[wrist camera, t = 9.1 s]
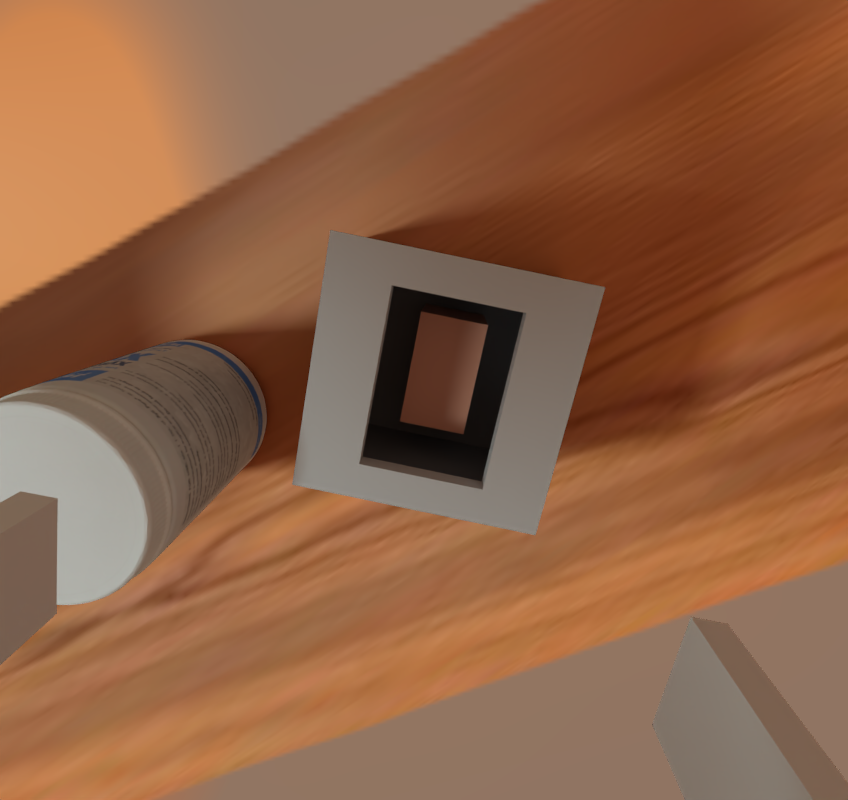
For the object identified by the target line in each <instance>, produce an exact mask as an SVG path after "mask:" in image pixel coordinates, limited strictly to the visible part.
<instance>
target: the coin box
mask: <svg viewBox="0 0 848 800" xmlns="http://www.w3.org/2000/svg"><path fill="white" fill-rule="evenodd" d="M604 290H605V287H602V286H597V285H592V284H587V283H583V282H578V281H573V280H568V279H563V278H559V277H554V276H549V275H544V274H539V273H535V272H530V271H525V270H520V269H515V268H511V267H506V266H501V265H496V264H491V263H487V262H482V261H477V260H472V259H467V258H463V257H458V256H453V255H448V254H443V253H439V252H434V251H429V250H424V249H419V248H415V247H410V246H405V245H400V244H395V243H391V242H386V241H381V240H376V239H371V238H367V237H362V236H357V235H352V234H347V233H342V232H338V231H333V230H330V236H329V243H328V249H327V256H326V263H325V269H324V276H323V283H322V289H321V296H320V303H319V310H318V316H317V323H316V330H315V336H314V343H313V350H312V356H311V363H310V370H309V377H308V383H307V390H306V397H305V403H304V410H303V417H302V423H301V430H300V437H299V444H298V450H297V457H296V464H295V470H294V477H293V485H297V486H302V487H307V488H312V489H316V490H321V491H326V492H331V493H336V494H340V495H345V496H350V497H355V498H360V499H364V500H369V501H374V502H379V503H384V504H388V505H393V506H398V507H403V508H408V509H412V510H417V511H422V512H427V513H432V514H436V515H441V516H446V517H451V518H456V519H460V520H465V521H470V522H475V523H480V524H484V525H489V526H494V527H499V528H503V529H508V530H513V531H518V532H523V533H527V534H532V535H536V531H537V528H538V524H539V521H540V517H541V513H542V510H543V506H544V503H545V499H546V496H547V492H548V489H549V485H550V482H551V478H552V474H553V471H554V467H555V464H556V460H557V457H558V453H559V450H560V446H561V443H562V439H563V436H564V432H565V428H566V425H567V421H568V418H569V414H570V411H571V407H572V404H573V400H574V397H575V393H576V389H577V386H578V382H579V379H580V375H581V372H582V368H583V365H584V361H585V358H586V354H587V350H588V347H589V343H590V340H591V336H592V333H593V329H594V326H595V322H596V319H597V315H598V311H599V308H600V304H601V301H602V297H603V294H604ZM426 303H427V304H432V305H437V306H442V307H446V308H451V309H456V310H461V311H466V312H471V313H476V314H481V315H484V317H485V320H486V322H487V324H488V328H487V333H486V337H485V342H484V346H483V350H482V355H481V359H480V364H479V368H478V372H477V377H476V381H475V386H474V390H473V394H472V399H471V403H470V408H469V412H468V416H467V421H466V425H465V430H464V434H459V433H454V432H449V431H445V430H440V429H435V428H430V427H425V426H420V425H415V424H410V423H405V422H401V421H400V418H401V413H402V408H403V403H404V398H405V392H406V387H407V382H408V377H409V372H410V367H411V361H412V356H413V351H414V346H415V341H416V336H417V330H418V325H419V320H420V315H421V311H422V309H423V308H424V306H425V304H426Z"/></svg>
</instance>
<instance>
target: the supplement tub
mask: <svg viewBox="0 0 848 800" xmlns="http://www.w3.org/2000/svg"><path fill="white" fill-rule="evenodd" d="M266 423H267V411H266V404H265V399H264V396H263V393H262V390H261V388H260V386H259V384H258V382H257V380H256V378H255V377H254V376H253V374H252V373H251V371H250V370H249V369H248V368H247V367H246V366H245V364H244V363H242V362H241V361H240V360H239V359H238V358H237V357H235V356H234V355H233V354H231V353H230V352H228V351H226V350H224V349H222V348H220V347H218V346H216V345H213V344H210V343H207V342H203V341H197V340H176V341H171V342H167V343H163V344H160V345H157V346H154V347H150V348H147V349H144V350H141V351H138V352H135V353H131V354H128V355H125V356H122V357H119V358H116V359H113V360H110V361H107V362H104V363H101V364H98V365H95V366H91V367H89V368H85V369H83V370H79V371H76V372H73V373H70V374H67V375H64V376H61V377H58V378H55V379H52V380H49V381H46V382H43V383H40V384H37V385H34V386H31V387H28V388H25V389H22V390H20V391H17V392H15V393H12V394H9V395H7V396H4V397H2V398H0V502H2V501H4V500H6V499H8V498H9V497H11V496H13V495H15V494H17V493H18V492H20V491H22V492H27V493H32V494H38V495H43V496H48V497H54V498H58V517H57V605H73V604H83V603H88V602H92V601H95V600H99V599H101V598H104V597H106V596H108V595H110V594H112V593H114V592H116V591H117V590H119V589H120V588H122V587H123V586H124V585H125V584H126V583H128V582H129V581H130V580H131V579H132V578H134V577H135V576H137V575H138V574H140V573H141V572H142V571H143V570H145V569H146V568H147V567H148V566H149V565H150V564H151V563H152V562H153V561H154V560H155V559H156V558H157V557H158V556H159V555H160V554H161V553H162V552H163V551H164V550H165V549H166V548H167V547H168V546H169V545H170V544H171V543H172V542H173V541H174V540H175V539H176V537H177V536H178V535H179V534H180V533H181V532H182V531H183V530H184V529H185V528H186V527H187V526H188V525H189V524H190V523H191V522H192V521H193V520H194V519H195V518H196V517H197V516H198V515H199V514H200V513H201V512H202V511H203V510H204V509H205V508H206V507H207V506H208V504H209V503H210V502H211V501H212V500H213V499H214V498H215V497H216V496H217V495H218V494H219V493H220V492H221V491H222V490H223V489H224V488H225V487H226V486H227V485H228V484H229V483H230V482H231V481H232V480H233V479H234V478H235V476H236V475H237V474H238V473H239V472H240V471H241V470H242V469H243V468H244V467H245V466H246V465H247V464H248V463H249V462H250V461H251V460H252V458H253V457H254V456H255V454H256V453H257V451H258V450H259V448H260V446H261V444H262V441H263V438H264V434H265V429H266Z"/></svg>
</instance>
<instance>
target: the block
mask: <svg viewBox="0 0 848 800" xmlns="http://www.w3.org/2000/svg"><path fill="white" fill-rule="evenodd" d="M487 328H488V324H487V322H486V320H485V317H484V315H481V314H476V313H471V312H466V311H461V310H456V309H451V308H446V307H442V306H437V305H432V304H427V303H426V304H425V306H424V308H423V309H422V311H421V315H420V320H419V325H418V330H417V336H416V341H415V346H414V351H413V356H412V361H411V367H410V372H409V377H408V382H407V387H406V392H405V398H404V403H403V408H402V413H401V418H400V421H401V422H405V423H410V424H415V425H420V426H425V427H430V428H435V429H440V430H445V431H449V432H454V433H459V434H464V430H465V425H466V421H467V416H468V412H469V408H470V403H471V399H472V394H473V390H474V386H475V381H476V377H477V372H478V368H479V364H480V359H481V355H482V350H483V346H484V342H485V337H486V333H487Z"/></svg>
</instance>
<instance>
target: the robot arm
mask: <svg viewBox="0 0 848 800" xmlns="http://www.w3.org/2000/svg"><path fill="white" fill-rule="evenodd" d="M57 517H58V498H54V497H48V496H43V495H38V494H32V493H27V492H22V491H20V492H18V493H17V494H15V495H13V496H11V497H9V498H8V499H6V500H4V501H2V502H0V665H1V664H2V663H3V662H4V661H5V660H6V659H7V658H8V657H9V656H11V655H12V654H13V653H14V652H15V651H16V650H17V649H18V648H19V647H20V646H22V645H23V644H24V643H25V642H26V641H27V640H28V639H29V638H30V637H31V636H32V635H34V634H35V633H36V632H37V631H38V630H39V629H40V628H41V627H42V626H43V625H45V624H46V623H47V622H48V621H49V620H50V619H51V618H52V617H53V616H54V615H55V614H57ZM652 725H653V727H654V730H655V732H656V734H657V737H658V739H659V741H660V743H661V746H662V748H663V751H664V753H665V755H666V757H667V760H668V762H669V764H670V767H671V769H672V771H673V774H674V776H675V778H676V781H677V783H678V785H679V788H680V790H681V792H682V794H683V797H684V799H685V800H848V782H847V781H846V780H845V778H844V777H843V776H842V774H841V773H840V772H839V770H838V769H837V768H836V766H835V765H834V764H833V762H832V761H831V760H830V758H829V757H828V756H827V755H826V753H825V752H824V751H823V749H822V748H821V747H820V745H819V744H818V743H817V742H816V740H815V739H814V737H813V736H812V735H811V734H810V732H809V731H808V730H807V728H806V727H805V725H804V724H803V723H802V721H801V720H800V719H799V717H798V716H797V715H796V713H795V712H794V711H793V709H792V708H791V707H790V706H789V704H788V703H787V702H786V700H785V699H784V698H783V697H782V695H781V694H780V692H779V691H778V690H777V688H776V687H775V686H774V684H773V683H772V682H771V680H770V679H769V678H768V676H767V675H766V674H765V672H764V671H763V670H762V668H761V667H760V666H759V665H758V663H757V662H756V661H755V659H754V658H753V657H752V655H751V654H750V653H749V652H748V650H747V649H746V647H745V646H744V645H743V643H742V642H741V641H740V639H739V638H738V637H737V635H736V634H735V633H734V631H733V630H732V629H731V628H730V626H729V625H728V624H726V623H721V622H715V621H711V620H705V619H700V618H695V617H691V618H690V621H689V624H688V626H687V629H686V632H685V635H684V637H683V641H682V643H681V646H680V649H679V651H678V654H677V657H676V660H675V663H674V666H673V668H672V671H671V674H670V676H669V679H668V682H667V685H666V688H665V690H664V693H663V696H662V699H661V701H660V704H659V707H658V710H657V713H656V715H655V718H654V721H653V724H652Z"/></svg>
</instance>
